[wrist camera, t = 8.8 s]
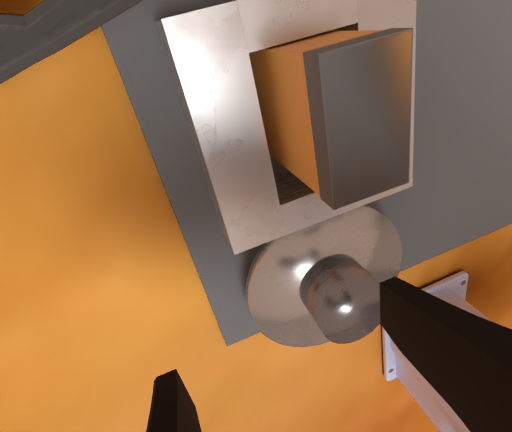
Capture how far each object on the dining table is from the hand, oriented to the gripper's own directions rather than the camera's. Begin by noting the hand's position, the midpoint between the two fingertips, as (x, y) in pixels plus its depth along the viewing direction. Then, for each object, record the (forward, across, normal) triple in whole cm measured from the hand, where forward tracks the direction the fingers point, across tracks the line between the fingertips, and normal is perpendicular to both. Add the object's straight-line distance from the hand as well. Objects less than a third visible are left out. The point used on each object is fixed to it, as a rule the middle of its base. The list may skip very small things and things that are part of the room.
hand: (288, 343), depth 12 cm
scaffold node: (+9, -5, -3) cm, 11 cm away
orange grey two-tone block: (+9, -5, -6) cm, 12 cm away
